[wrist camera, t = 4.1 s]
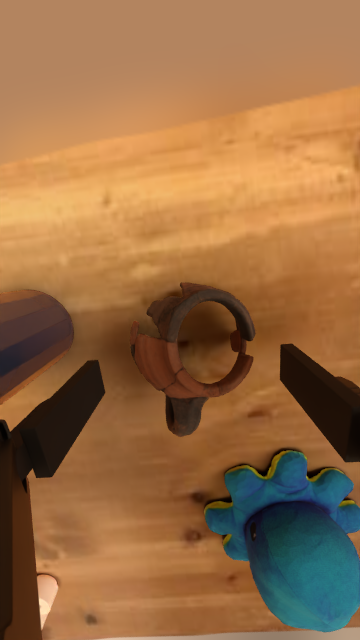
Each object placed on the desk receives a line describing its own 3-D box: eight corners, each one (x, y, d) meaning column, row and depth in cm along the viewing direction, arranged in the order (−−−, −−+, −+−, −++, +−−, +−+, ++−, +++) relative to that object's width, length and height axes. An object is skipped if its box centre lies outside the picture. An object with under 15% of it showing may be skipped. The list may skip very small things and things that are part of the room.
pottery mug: (121, 291, 19) (147, 271, 12) (208, 293, 23) (267, 280, 16) (125, 421, 19) (153, 483, 12) (211, 401, 24) (272, 438, 16)
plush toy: (369, 533, 26) (451, 654, 18) (240, 569, 28) (262, 691, 20) (329, 431, 22) (411, 526, 14) (185, 483, 25) (185, 590, 17)
